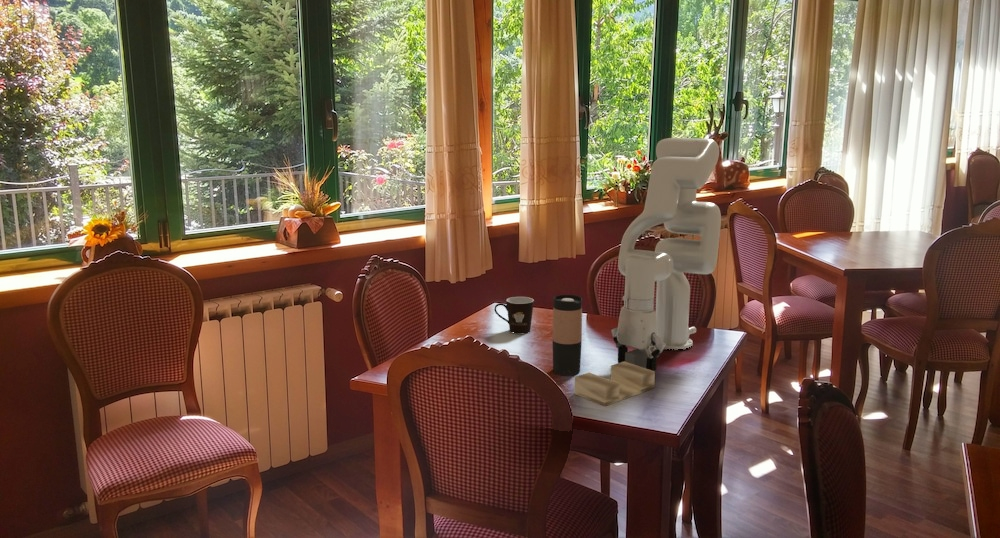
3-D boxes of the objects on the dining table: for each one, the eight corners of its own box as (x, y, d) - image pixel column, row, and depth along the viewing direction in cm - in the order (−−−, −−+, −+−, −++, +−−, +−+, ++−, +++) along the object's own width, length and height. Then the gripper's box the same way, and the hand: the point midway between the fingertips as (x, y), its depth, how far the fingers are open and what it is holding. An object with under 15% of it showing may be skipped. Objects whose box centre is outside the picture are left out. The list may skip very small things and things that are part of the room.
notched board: (623, 377, 196) (624, 361, 195) (654, 388, 188) (654, 371, 188) (574, 393, 185) (574, 376, 184) (604, 406, 177) (605, 388, 176)
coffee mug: (538, 329, 238) (539, 299, 236) (524, 336, 231) (524, 305, 229) (507, 324, 244) (507, 294, 242) (492, 330, 237) (492, 300, 235)
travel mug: (551, 366, 205) (552, 294, 201) (579, 366, 205) (581, 294, 200) (552, 375, 197) (553, 301, 193) (581, 376, 197) (583, 301, 193)
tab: (639, 369, 202) (640, 348, 201) (648, 372, 200) (649, 350, 199) (624, 374, 198) (625, 352, 197) (633, 377, 196) (634, 355, 195)
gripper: (604, 299, 199) (602, 361, 203) (656, 312, 186) (653, 378, 190) (623, 295, 204) (621, 356, 207) (675, 307, 191) (672, 372, 194)
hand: (636, 366), depth 199 cm, fingers open, 9 cm apart
